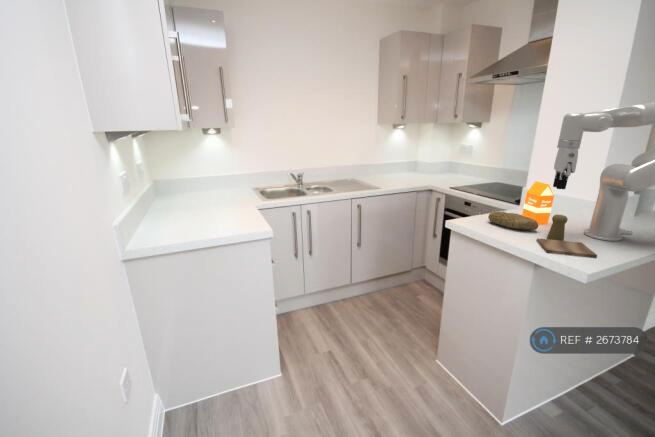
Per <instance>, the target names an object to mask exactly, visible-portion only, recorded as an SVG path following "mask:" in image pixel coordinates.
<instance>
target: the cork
mask: <svg viewBox="0 0 655 437" xmlns="http://www.w3.org/2000/svg"><path fill="white" fill-rule="evenodd" d="M568 219H569V218H568V217H567V216H566V215H563V214H554V215H553V216H552V217H551V221H552V224H551V227H550V229H549V231H548V233H547V236H546V239H550V240H560V241H565V240H564V239H565V228H566V227H565V226H566V224H567V222H568Z"/></svg>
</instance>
